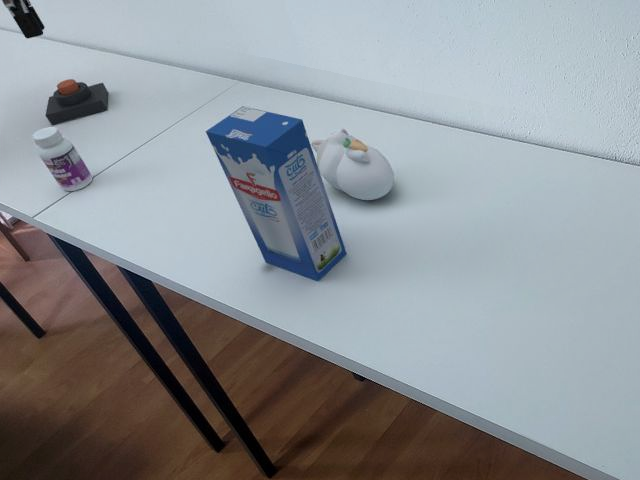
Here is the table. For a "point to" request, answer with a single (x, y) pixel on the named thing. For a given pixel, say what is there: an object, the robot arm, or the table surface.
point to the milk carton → (279, 190)
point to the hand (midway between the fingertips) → (35, 32)
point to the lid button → (68, 86)
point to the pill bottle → (62, 159)
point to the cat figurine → (353, 166)
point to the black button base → (77, 103)
